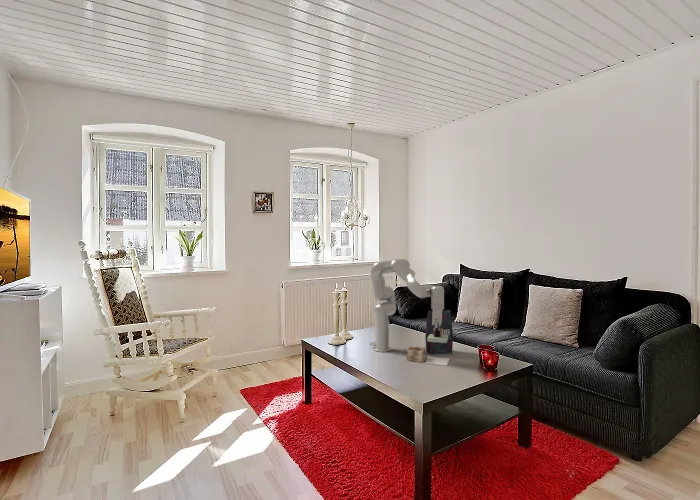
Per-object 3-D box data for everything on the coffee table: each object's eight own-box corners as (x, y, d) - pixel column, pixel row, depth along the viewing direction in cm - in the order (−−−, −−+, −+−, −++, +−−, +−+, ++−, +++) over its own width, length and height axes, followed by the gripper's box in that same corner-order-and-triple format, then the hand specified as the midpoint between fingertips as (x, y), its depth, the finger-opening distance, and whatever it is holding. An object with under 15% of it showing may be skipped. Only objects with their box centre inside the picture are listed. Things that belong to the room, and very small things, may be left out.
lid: (427, 341, 237) (427, 329, 237) (429, 337, 247) (429, 326, 247) (446, 342, 234) (446, 330, 233) (448, 338, 243) (448, 327, 243)
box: (406, 360, 243) (406, 350, 243) (409, 356, 251) (409, 346, 251) (423, 362, 239) (423, 351, 239) (425, 357, 248) (425, 347, 248)
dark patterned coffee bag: (453, 353, 257) (453, 311, 256) (429, 354, 255) (429, 311, 254) (448, 350, 265) (448, 308, 264) (425, 351, 263) (425, 309, 262)
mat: (424, 363, 237) (424, 362, 237) (428, 357, 249) (428, 356, 249) (446, 365, 233) (447, 365, 233) (449, 359, 245) (449, 358, 245)
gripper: (433, 303, 249) (433, 332, 249) (429, 308, 233) (429, 339, 234) (445, 304, 246) (445, 333, 247) (442, 309, 231) (442, 340, 231)
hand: (437, 335), depth 240 cm, fingers closed on lid, 3 cm apart
